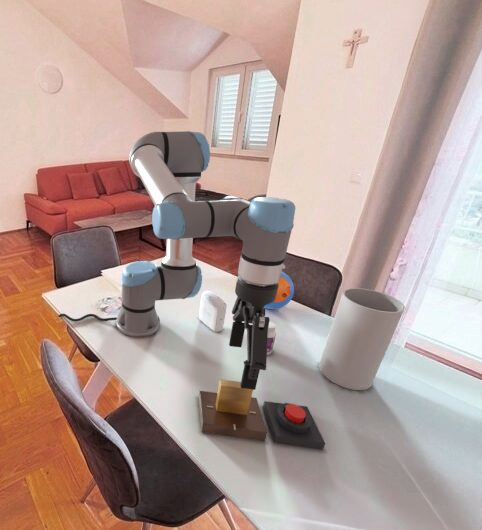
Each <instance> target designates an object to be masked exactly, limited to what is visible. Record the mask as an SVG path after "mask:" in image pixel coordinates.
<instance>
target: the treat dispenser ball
mask: <svg viewBox="0 0 482 530" xmlns="http://www.w3.org/2000/svg"><path fill="white" fill-rule="evenodd" d="M278 284H279V287H278V291H277V295H276V299H275V301H274V302H272V303H270V304H267V305H265V306H264V308H265V309H268V310H277V309H280V308H283V307H286V306H287V305H288V304H289V303H290V302H291V300H292V299H293V297H294V294H295V286H294V285H295V284H294V282H293V281H292V279H291V277H290V276H289V275H288V274H286V273H285V272H284V271H282V272H281V277H280V280H279V282H278Z"/></svg>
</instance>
